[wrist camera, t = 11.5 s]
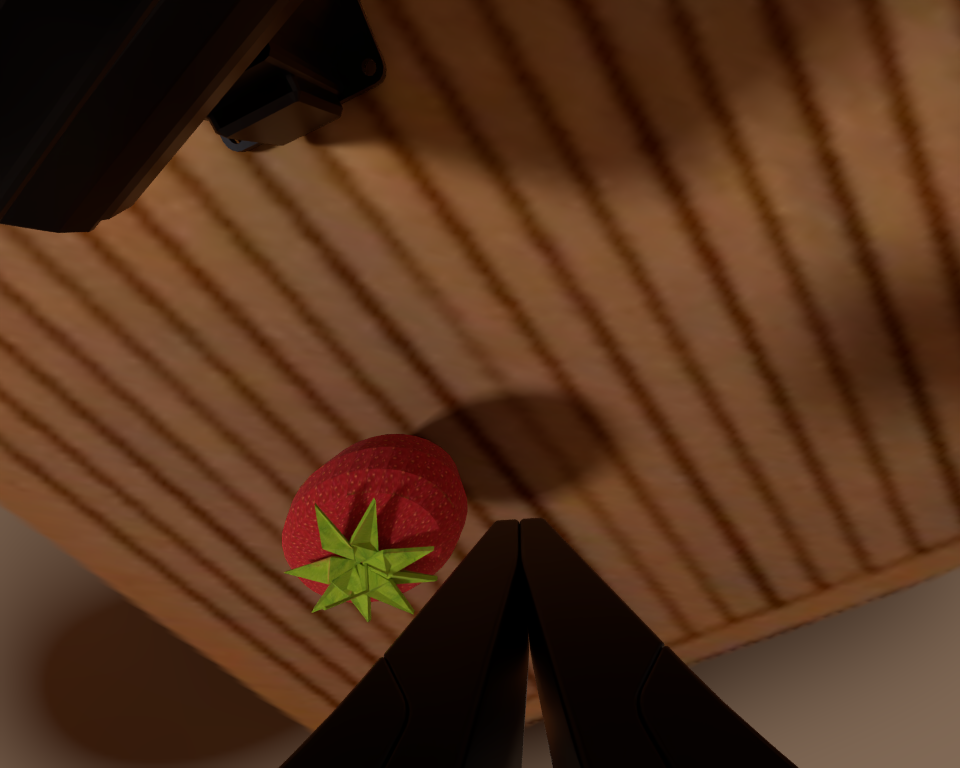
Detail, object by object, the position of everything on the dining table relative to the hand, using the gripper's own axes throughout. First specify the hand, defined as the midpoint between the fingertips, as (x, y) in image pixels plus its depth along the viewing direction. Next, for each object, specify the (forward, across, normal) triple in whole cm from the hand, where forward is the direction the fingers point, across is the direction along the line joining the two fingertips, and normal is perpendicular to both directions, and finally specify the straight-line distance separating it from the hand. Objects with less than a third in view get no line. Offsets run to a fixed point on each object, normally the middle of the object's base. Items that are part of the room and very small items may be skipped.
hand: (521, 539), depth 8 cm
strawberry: (+13, -6, -6) cm, 16 cm away
